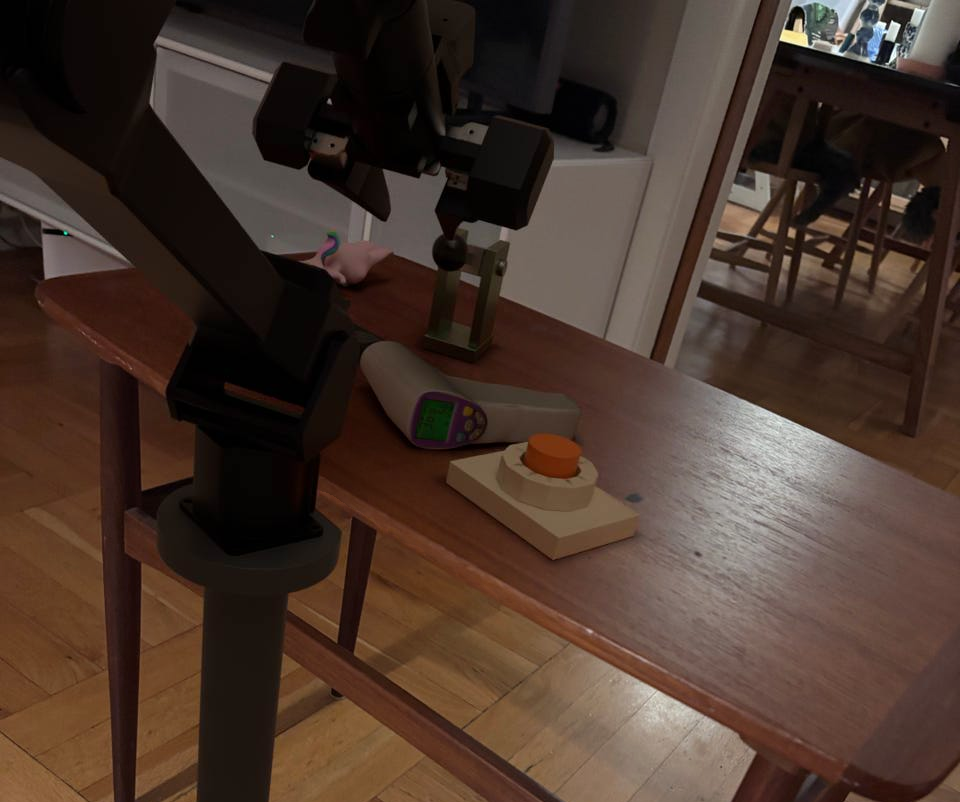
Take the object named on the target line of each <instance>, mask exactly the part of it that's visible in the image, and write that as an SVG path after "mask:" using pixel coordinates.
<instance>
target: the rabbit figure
mask: <svg viewBox="0 0 960 802" xmlns="http://www.w3.org/2000/svg"><path fill="white" fill-rule="evenodd" d="M325 235H326V236H327V238H326V240H325V241H324V242H323V243H322V244H321V245H320V247H319V248H318V249H317V251H316V254H315V256H314V257H312V258H310V259H305V260H299V261H300V262H303V263H306V264H310V265H313V266H316V267H320V268H323V269H325V270H326V271H327V272H328V273H329V274H330V275H331V276H332V277H333V278H334V280H335V282H336V284H337V285H338V286H339V285H341V286H342V287H343V288H344V287H348V286H349V285H356V284H358V283H360V282H362V281H363V280H364V279H365V278H366V276H367V275H368V273H369V270H370V269H371V268H372V267H373V266H375V265H377V264H379V263H380V262H382V261H383V260H384V259H385V258H387V257H388V256H389V255H391V256H392V255H395V252H394V250H392V249H390V248H386V247H382V246H380V245H378V244H377V243H374V242H372V241H369V240H358V241H354V242H345V243H341V242H340V237H339V235H338V234H337V232H336V231H335V230H330V231H328V232H327V233H325ZM340 243H341V244H340ZM323 258H325V259H324V262H323ZM323 263H324V264H323Z"/></svg>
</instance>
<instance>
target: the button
mask: <svg viewBox="0 0 960 802" xmlns="http://www.w3.org/2000/svg"><path fill="white" fill-rule="evenodd" d="M580 456H582V448H581V447H580V445H579V444H577V443H576V442H575V441H573V440H569V439H567V438H564V437H561V436H558V435H553V434H535V435H533V436H531V437H530V438H529V441H528V445H527V450H526V454H525V458H524V462H523V464H524V466H525V467H527V468H528V469H530V470H531V471H533V472H534V473H537V474H540V475H543V476H546V477H549V478H559V479H568V478H573V477H574V476H575V474H576V470H577V466H578V463H579V459H580Z"/></svg>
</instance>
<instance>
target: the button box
mask: <svg viewBox="0 0 960 802" xmlns="http://www.w3.org/2000/svg"><path fill="white" fill-rule="evenodd" d="M527 445H528V442H524V443H513V444H510V445H508V447H506V448H505V450H500V451H496V452H490V453H486V454H479V455H474V456H469V457H464V458H459V459H453V460H450V461H449V464H448V470H447V474H446V480H445V483H446V484H447V485H448V486H450V487H451V488H453V489H454V490H455V491H457V492H458V493H459V494H460V495H462V496H463V497H465V498H466V499H468V500H469V501H470V502H472V503H473V504H475V505H476V506H477V507H479V508H480V509H481V510H483V512H486V513H487V514H488V515H489V516H491V517H493V518H494V519H495V520H497V521H498V522H500V523H501V524H502V525H504V526H505V527H506V528H508V529H509V530H510V531H512V532H514V533H515V534H516V535H517V536H519V537H520V538H521V539H523V540H524V541H525V542H527V543H528V544H530V545H531V546H532V547H534V548H535V549H537V550H538V551H539V552H540V553H542V554H544V555H545V556H546V557H547V558H549V559H550V560H552V561H555V560H558V559H561V558H565V557H568V556H572V555H575V554H579V553H582V552H585V551H588V550H591V549H595V548H599V547H601V546H604V545H608V544H611V543H615V542H618V541H622V540H625V539H628V538H631V537H634V535H635V532H636V529H637V525H638V523H639V521H640V516H641V514H640V513H638V512H637V511H635V510H634V509H632V508H630V507H629V506H627V505H626V504H625V503H622V502H621V501H620V500H618V499H616V498H615V497H614V496H612V495H610V494H608V493H607V492H605V491H604V490H602V489H601V488H599V487H597V486H596V485H597V482H598V479H599V475H600V474H599V472H598V470H597V469H596V467H595V465H594V464H593V462H591V461H590V460H588V459H587V458H586V457H583V456H582V455H581V456H580V459H579V463H578V466H577V470H576V474H575V476H574V477H573V478H568V479H559V478H549V477H546V476H543V475H540V474H537V473H534V472H533V471H531V470H530V469H528V468H527V467H525V466H524V464H523V462H524V458H525V454H526V450H527Z"/></svg>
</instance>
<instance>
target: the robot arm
mask: <svg viewBox="0 0 960 802" xmlns="http://www.w3.org/2000/svg"><path fill="white" fill-rule="evenodd" d="M175 4H176V0H0V158H1V159H4V160H5V161H8V162H10V163H12V164H14V165H16V166H19V167H21V168H22V169H25V170H27V171H28V172H30V173H32V174H33V175H35V176H36V177H38V178H39V179H40V180H41V181H42V182H43V183H44V184H45V185H46V186H47V187H48V188H49V189H50V190H51V191H52V192H54V193H55V194H56V196H58V197H59V198H60V199H61V200H62V201H63V202H64V203H66V205H67V206H69V207H70V208H71V209H72V210H73V211H74V212H75V213H76V214H77V215H78V216H80V217H81V219H83V221H85V222H86V223H87V224H88V225H89V226H90V227H91V228H92V229H93V230H94V231H95V232H96V233H98V234H99V236H101V237H102V238H103V239H104V240H105V241H106V242H107V243H108V244H109V245H111V247H113V248H114V249H115V250H116V251H117V252H118V253H119V254H120V255H121V256H122V257H124V259H126V261H128V262H129V263H130V264H131V265H132V266H133V267H134V268H135V269H136V270H137V271H138V272H140V273H141V274H142V275H143V276H144V277H145V278H146V279H147V280H148V281H149V282H150V283H151V284H152V285H153V286H154V287H156V288H157V290H159V291H160V292H161V293H162V294H163V295H164V296H165V297H166V298H167V299H168V300H169V301H171V302H172V303H173V305H175V306H176V307H177V308H178V309H179V310H180V311H181V312H182V313H184V314H185V315H186V316H187V317H188V318H189V319H190V320H191V321H192V322H193V323H194V324H193V327H192V328H191V331H190V335H189V337H188V340H187V343H186V344H185V347H184V349H183V351H182V353H181V355H180V358H179V360H178V361H177V364H176V366H175V368H174V370H173V372H172V375H171V376H170V379H169V381H168V383H167V385H166V387H165V391H164V393H165V398H166V403H167V408H168V411H169V416H170V418H171V420H174V421H177V422H184V423H189V424H191V425H193V426H194V439H193V441H194V442H193V445H194V446H193V474H192V475H193V477H192V478H193V479H192V481H193V483H192V484H193V496H189V497H184V498H181V499H180V501H179V507H180V509H181V510H182V511H183V512H184V513H185V514H186V515H187V516H188V517H189V518H190V519H191V520H192V521H193V522H194V523H196V524H197V525H198V526H199V527H200V528H201V529H202V530H203V531H204V532H205V533H206V534H207V535H208V536H209V537H210V538H211V539H212V540H213V541H214V542H215V543H216V544H217V545H218V546H219V547H220V548H221V549H222V550H223V551H224V552H225V553H226V554H228V555H230V556H239V555H243V554H248V553H252V552H256V551H261V550H265V549H269V548H274V547H278V546H282V545H287V544H291V543H295V542H300V541H304V540H308V539H313V538H317V537H320V536H322V535H323V526H322V525H321V524H320V523H318V522H317V521H316V520H315V519H314V518H313V517H311V516H310V515H309V514H310V513H313V512H314V510H315V508H316V507H317V506H316V505H317V498H318V497H317V495H318V488H319V478H320V469H321V461H322V460H321V458H322V454H321V452H323V451H325V449H326V448H328V447H329V446H330V445H332V444H333V443H334V442H336V441H337V440H338V439H340V437H341V434H342V431H343V427H344V423H345V420H346V419H345V418H346V416H347V412H348V407H349V403H350V400H351V395H352V391H353V388H354V384H355V380H356V376H357V371H358V368H359V364H360V357H361V356H360V347H359V341H358V339H357V337H356V336H355V330H354V326H353V323H354V322H353V320H352V318H351V316H350V314H349V313H348V312H347V311H348V310H349V308H350V307H351V304H352V301H351V299H348V298H346V297H343V296H342V295H341V292H340V291H339V288H338V284H337V282H336V281H335V280H334V278H333V277H332V276H331V275H330V274H329V273H328V272H327V271H326V270H325V269H323V268H320V267H316V266H313V265H310V264H306V263H303V262H300V261H301V260H296V259H293V258H289V257H286V256H283V255H280V254H276V253H273V252H269V251H267V250H263V249H260V248H259V246H258V245H257V244H256V242H255V241H254V240H253V239H252V237H251V236H250V235H249V233H248V232H247V231H246V229H245V228H244V227H243V225H242V224H241V223H240V222H239V220H238V219H237V218H236V216H235V215H234V214H233V212H232V211H231V210H230V209H229V207H228V206H227V205H226V203H225V202H224V201H223V199H222V197H220V195H219V194H218V192H217V191H216V190H215V188H213V186H212V185H211V183H210V182H209V181H208V179H207V178H206V177H205V176H204V175H203V173H202V172H201V170H200V169H199V168H198V167H197V165H196V164H195V162H194V161H193V160H192V158H191V157H190V156H189V155H188V153H187V152H186V151H185V149H184V147H182V145H181V144H180V143H179V141H178V140H177V139H176V138H175V136H174V135H173V134H172V133H171V131H170V130H169V128H168V127H167V126H166V125H165V123H164V122H163V120H161V118H160V116H159V115H158V114H157V113H156V111H155V110H154V108H153V107H152V105H151V95H152V91H153V90H152V89H153V84H154V76H155V71H156V63H157V56H158V53H157V50H156V47H155V45H154V44H155V43H156V41H157V39H158V37H159V35H160V33H161V31H162V29H163V27H164V25H165V23H166V21H167V20H168V18H169V16H170V14H171V12H172V10H173V8H174V7H175ZM475 31H476V9H475V8H474V7H473V6H472V5H470V4H468V3H466V2H462V1H458V0H313V1H312V3H311V6H310V7H309V10H308V12H307V14H306V16H305V18H304V21H303V29H302V42H303V43H304V45H306V46H310V47H313V48H318V49H320V50H325V51H328V52H330V54H331V57H332V61H333V65H334V68H335V71H331V70H327V69H323V68H319V67H316V66H312V65H308V64H305V63H301V62H297V61H293V60H288V61H287V60H286V61H282V62H281V63H280V64H279V65H278V67H276V68H275V70H274V72H273V75H272V77H271V79H270V80H269V81H270V82H269V84H268V86H267V88H266V90H265V92H264V94H263V97H262V99H261V101H260V103H259V105H258V107H257V110H256V112H255V114H254V116H253V118H252V129H251V130H252V131H251V134H252V137H253V139H254V142H255V144H256V147H257V149H258V151H259V154H260V155H261V157H262V159H263V161H265V162H268V163H271V164H272V163H273V164H276V165H279V166H283V167H287V168H290V169H294V170H297V171H300V170H302V169H304V168H307V170H306V171H307V174H308V176H309V177H310V178H311V179H312V180H315V181H318V182H321V183H322V184H324V185H326V186H328V188H331V189H332V190H334V191H335V192H337V193H339V194H341V195H342V196H344V197H345V198H347V199H348V200H350V201H351V202H353V203H354V204H356V205H357V206H359V207H360V208H362V210H365V211H366V212H368V213H369V214H370V215H372V216H373V217H374V218H376V219H378V221H380V222H383V223H387V221H388V219H389V217H390V215H391V212H392V205H391V197H390V191H389V187H388V184H387V180H386V176H385V173H384V170H385V171H389V172H393V173H396V174H400V175H403V176H407V177H412V178H414V179H418V180H419V179H420V178H421V176H422V174H423V175H428V176H431V177H437V176H438V175H439V173H440V171H441V169H442V168H444V175H445V179H446V181H445V183H444V186H443V188H442V191H441V193H440V195H439V199H438V200H437V203H436V205H435V208H434V214H435V216H436V218H437V221H438V223H439V226H440V228H441V231H442V234H444V235H445V236H446V238H447V239H448V240H450V241H453V240H454V238H455V235H456V233H457V230H458V228H460V225H461V224H462V223H468V224H475V223H477V222H478V221H480V222H484V223H488V224H491V225H494V226H498V227H502V228H506V229H509V230H513V231H519V230H522V229H523V228H527V226H529V223H530V221H531V218H532V216H533V213H534V210H535V207H536V205H537V203H538V200H539V198H540V196H541V193H542V190H543V187H544V185H545V182H546V180H547V177H548V175H549V172H550V170H551V167H552V164H553V162H554V159H555V139H554V138H553V136H552V133H551V131H550V128H549V127H546V126H545V127H544V126H541V125H537V124H533V123H529V122H526V121H522V120H518V119H515V118H511V117H506V116H502V115H498V114H497V115H494V116H492V117H491V120H490V122H489V125H485V124H481V123H477V122H467V123H465V124H464V125H462V126H461V127H455V126H452V125H447V124H446V123H445V118H446V116H452V117H454V116H455V114H456V111H457V109H458V107H459V104H460V102H461V95H460V89H459V88H460V87H459V82H460V81H461V79H462V77H464V75H465V74H466V72H467V71H468V70H469V69H470V68H472V67H473V64H474V58H475V57H474V56H475V55H474V52H475V33H476V32H475ZM329 100H330V103H331V104H329V103H328V101H329ZM352 322H353V323H352ZM226 383H227V384H230V385H233V386H235V387H239V388H243V389H245V390H249V391H251V392H255V393H257V394H260V395H263V396H267V397H270V398H273V399H276V400H279V401H282V402H285V403H289V404H290V405H291V404H292V405H294V406H298V407H300V408H303V411H302V413H301V412H298V411H294V410H291V409H289V408H285V407H282V406H279V405H276V404H273V403H270V402H266V401H264V400H260V399H257V398H255V397H252V396H248V395H245V394H242V393H239V392H237V391H236V392H235V391H234V390H233V391H232V390H230V389H227V388H225V385H226Z"/></svg>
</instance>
